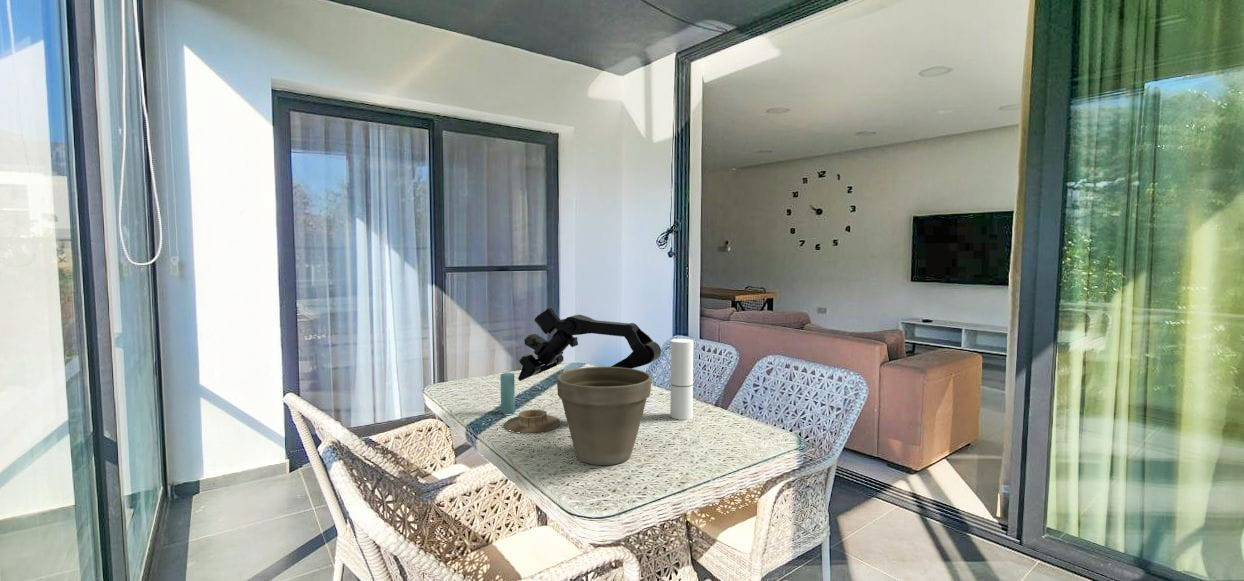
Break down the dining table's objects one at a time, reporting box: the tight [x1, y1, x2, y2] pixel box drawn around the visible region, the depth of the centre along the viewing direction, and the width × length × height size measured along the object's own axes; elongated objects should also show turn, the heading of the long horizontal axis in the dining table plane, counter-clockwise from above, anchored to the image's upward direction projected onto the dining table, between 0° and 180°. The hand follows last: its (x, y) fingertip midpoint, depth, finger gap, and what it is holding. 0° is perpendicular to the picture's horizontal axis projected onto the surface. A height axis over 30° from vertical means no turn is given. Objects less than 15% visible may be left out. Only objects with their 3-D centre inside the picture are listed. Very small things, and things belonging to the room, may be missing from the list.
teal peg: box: [499, 372, 516, 414], centre depth 187 cm, size 4×4×13 cm
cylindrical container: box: [669, 338, 694, 421], centre depth 182 cm, size 7×7×25 cm
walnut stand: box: [504, 408, 561, 434], centre depth 175 cm, size 17×17×4 cm
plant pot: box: [556, 366, 653, 466], centre depth 149 cm, size 25×25×22 cm
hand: (527, 376), depth 183 cm, fingers open, 9 cm apart
